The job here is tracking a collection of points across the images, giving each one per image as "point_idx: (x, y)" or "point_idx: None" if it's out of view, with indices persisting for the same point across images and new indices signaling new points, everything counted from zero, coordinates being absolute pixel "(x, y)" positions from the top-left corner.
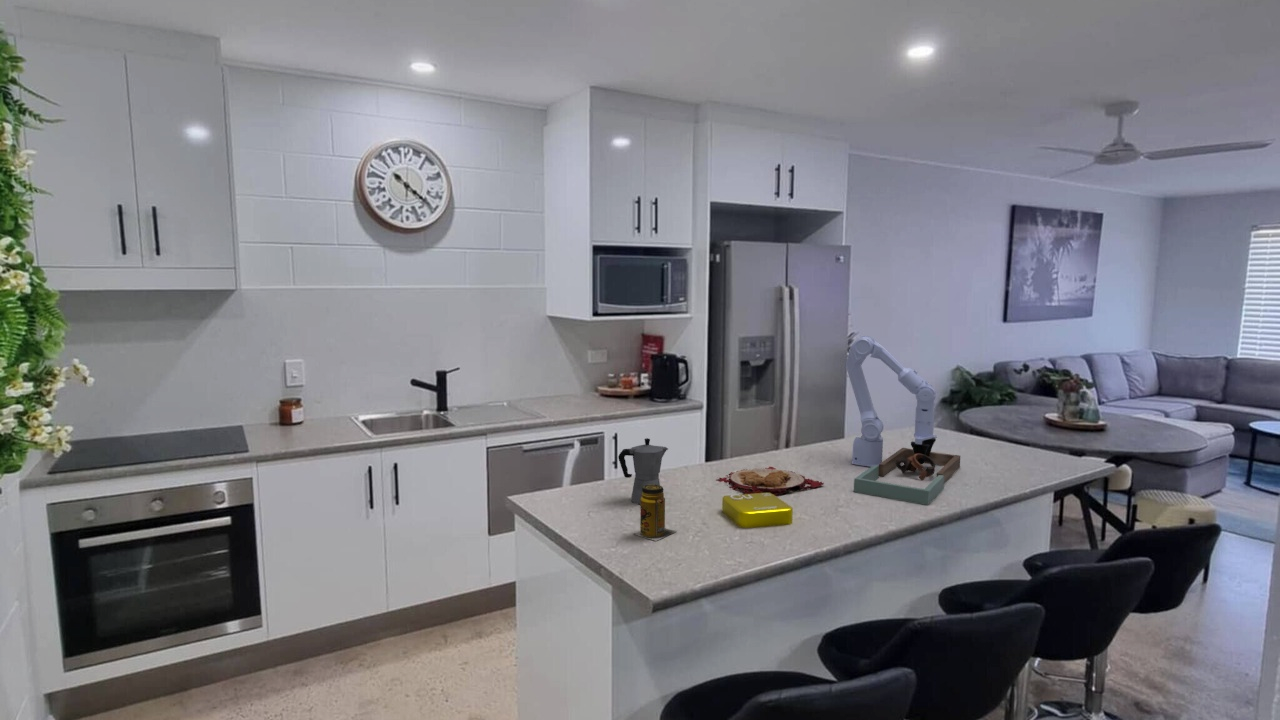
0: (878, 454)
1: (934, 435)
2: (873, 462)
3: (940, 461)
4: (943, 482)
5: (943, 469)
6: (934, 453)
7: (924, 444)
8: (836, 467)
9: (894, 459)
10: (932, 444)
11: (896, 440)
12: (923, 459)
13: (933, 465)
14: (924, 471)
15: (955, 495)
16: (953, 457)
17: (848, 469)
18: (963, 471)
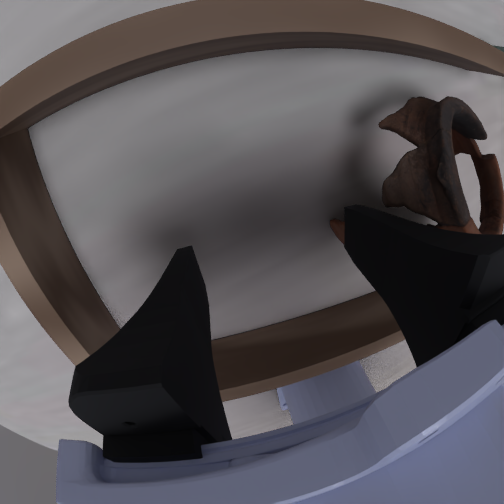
0: (361, 385)
1: (416, 446)
2: (357, 361)
3: (42, 218)
4: (499, 47)
5: (467, 46)
6: (41, 286)
7: (489, 291)
8: (395, 371)
9: (348, 340)
10: (174, 333)
11: (7, 417)
12: (413, 207)
13: (459, 109)
14: (471, 139)
15: (495, 14)
16: (18, 112)
17: (403, 352)
18: (69, 34)
